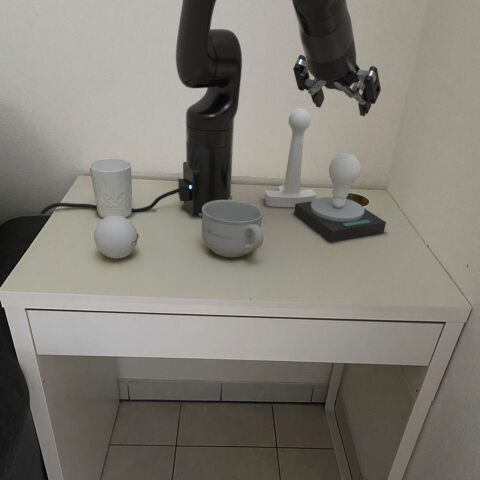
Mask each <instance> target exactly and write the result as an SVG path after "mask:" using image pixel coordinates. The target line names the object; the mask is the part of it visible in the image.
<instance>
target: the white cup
mask: <svg viewBox="0 0 480 480" xmlns="http://www.w3.org/2000/svg"><path fill="white" fill-rule="evenodd" d="M88 167H89V171H90V178H91V185H92V189H93V190H92V191H93V193H94V195H93V196H94V200H95V203H96V204H95V205H97V209H96V211H97V214H98V216H99V217H100V218H102V219H103V218H105V217H108V216H112V215H117V216H122V217H125V218H126V219H127V218H128V217H130V216H131V215H132V213H133V212H132V209H133V208H132V205H133V204H132V202H133V183H132V182H133V179H132V177H133V176H132V164H131V162H130V161H128V160H126V159H122V158H117V157H115V158H114V157H107V158H99V159H95V160H93V161H91V162H90V163H89V164H88Z"/></svg>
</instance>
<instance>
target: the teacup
mask: <svg viewBox="0 0 480 480" xmlns="http://www.w3.org/2000/svg"><path fill="white" fill-rule="evenodd" d="M263 217H264V211H263V209H262V208H260V206H257V205H256V204H253V203H250V202H247V201H242V200H237V199H236V200H235V199H232V200H216V201H211V202H208V203H206V204H205V205H203V207H202V217H201V237H202V240H203V243H204V244H205V246H207V248H209V249H210V250H211V251H212V253H214V254H216V255H218V256H221V257H225V258H240V257H244V256H245V255H247V254H249V253H251V252H252V251H254V250H256V249H259V248H260V247H262V245H263V243H264V232H263V230H262V225H263V222H262V221H263Z"/></svg>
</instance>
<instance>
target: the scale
mask: <svg viewBox="0 0 480 480" xmlns="http://www.w3.org/2000/svg"><path fill="white" fill-rule="evenodd" d="M332 202H333V196H323V197H317V198H316V199H315V200H314V201H311V202H304V203H296V204H295V207H294V212H293V214H294V216H296V218H298V219H299V220H301V221H302V222H304V224H306V225H307V226H309V228H311V229H312V230H314V231H315V232H316V233H317V234H319V235H320V236H321V237H322V238H324V239H325V240H326V241H328V242H329V243H334V242H335V243H336V242H339V241H340V242H341V241H346V240H350V239H351V240H353V239H357V238H363V237H368V236H374V235H375V236H376V235H380V234H384V232H385V230H386V229H385V228H386V225H387V221H385V220H384V219H382V218H380V217H379V216H377V215H375V214H374V213H373V212H371V211H370V210H368V209H366V208H365V207H364V206H363V205H362V204H360V203H359V202H356V201H354V200H352V199H351V198H349V197H348V196H347V197H346V201H345V205H344V206H342V207H340V208H336V207H335V206H334V205H333V204H332Z"/></svg>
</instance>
